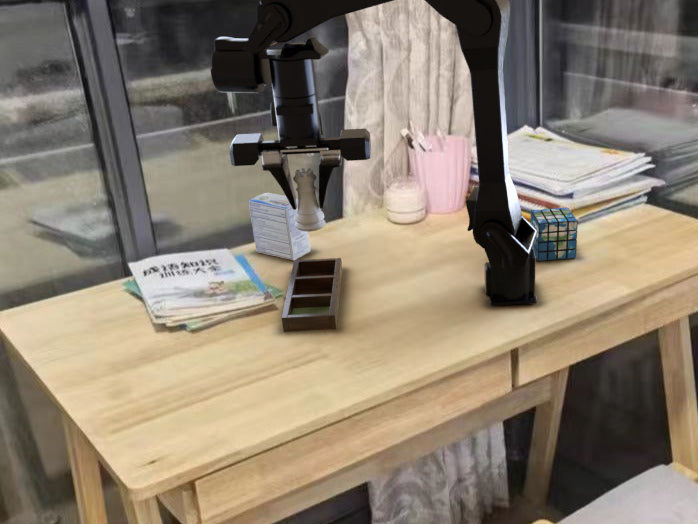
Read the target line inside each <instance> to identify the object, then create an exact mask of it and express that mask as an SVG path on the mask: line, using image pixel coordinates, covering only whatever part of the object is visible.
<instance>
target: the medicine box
mask: <svg viewBox="0 0 698 524" xmlns="http://www.w3.org/2000/svg"><path fill="white" fill-rule="evenodd" d="M296 205H297V208H296V210H297V209H298V197H296ZM248 208H249V214H250V220H251V227H252V233H253V240H254V245H255V250H256V253H259V254H264V255H268V256H274V257H278V258H281V259H286V260H290V261H294V260H299V259H300V258H301V257H304V256H305V255H307V254H309V253H310V252H311V251H312V249H311V242H310V234H309V232H306V231H300V230H298V229H297V228H296V227H295V223H296V221H295V219H294V216H295V214H296V213H297V211H296V210H293V208H292V206H291V205H290V203H289V201H288V199H287V197H286V195H283V194H278V193H273V192H272V193H271V192H264V193H262V194H259V195H257V196H255V197H253V198H251V199H250V200H248Z"/></svg>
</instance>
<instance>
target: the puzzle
mask: <svg viewBox="0 0 698 524" xmlns="http://www.w3.org/2000/svg"><path fill="white" fill-rule="evenodd" d="M529 223H530V224H531V225H532V226H533V227H534V228H535V229H536V230H537V234H536V237H535V240H534V242H533V245H532V248H531V249H533V251H534V254H535V257H536V260H537V262H544V261H554V260H555V261H556V260H565V259H576V258H577V247H578V246H577V245H578V227H579V220H578V219H577V218H576V216H575V215H574V213H573V212H572V211H571V209H570V208H569V207H555V208H543V209H531V210H530V222H529Z"/></svg>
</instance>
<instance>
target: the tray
mask: <svg viewBox="0 0 698 524" xmlns="http://www.w3.org/2000/svg"><path fill="white" fill-rule="evenodd" d="M343 271H344V270H343V261H342V257H331V258H330V257H329V258H310V259H296V260H293V263H292V267H291V273H290V277H289V282H288V287H287V291H286V296H285V300H284V306H283V309H282V314H281V325H282V332H283V333H291V332H311V331H331V330H337V327H338V326H337V325H338V317H339V307H340V298H341V289H342V288H341V287H342V278H343Z"/></svg>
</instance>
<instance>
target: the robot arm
mask: <svg viewBox="0 0 698 524" xmlns="http://www.w3.org/2000/svg"><path fill="white" fill-rule="evenodd" d="M394 1H395V0H259V3H258V6H257V9H256V10H257V11H256V19H257V22H256V24H255V25H254V27H253V29H252V31H251V33H250V35H249V36H248V38H243V37H242V38H240V37H239V38H238V37H237V38H235V37H232V36H219V37H217V38H215V39H213V45H214V51H213V53H212V57H211V68H210V75H211V76H210V77H211V81H212V84H213V86H214V87H215V89H216V91H217V92H219V93H228V94H229V93H230V94H231V93H235V94H262V93H264V91H265V89H266V87H267V86H269V85H270V84H271V87H272V88H271V89H272V97H273V102H270V121H271V127H273V128H277V134H278V139H275V140H273V139H272V140H264V136H263V134H262V133H259V132H258V133H240V134H239V133H238V134H236V135H235V137H234V138H233V139H232V141H231V144H230V146H229V158H230V163H231V166H233V167H245V166H246V167H247V166H255V165H256V164H257V162H258V161H260V159H261V160H262V165H261V170H262V171H264V172H270V173H269V174H271V176H272V177H273V178H274V180H275V181H276V182H277V184H278V185H279V187H280V188H281V190H282V192H283V194H284V196H286V197H287V199H288V201H289V203H290V205H291V206H292V208H293V210H296V208H297V205H296V198H297V197H296V192H295V188H294V184H293V178H292V175H291V171H290V167H289V165H290V164H289V159H288V155H304V154H306V155H307V154H319V157H320V158H319V162H318V203H319V204H318V206H319V207H320V209H321V210H322V209H324V205H325V204H324V203H325V199H326V195H327V189H328V184H329V181H330V179H331V176H332V173H333V171H334V169H335V168H340V167H341V166H342V163H343V158H344V160H345V161H347V162H351V161H353V162H354V161H367V160H370V159H371V155H372V140H371V132H370V131H369V130H367V128H347V129H340V135H339V136H338V137H323V136H324V124H323V115H322V113H321V112H322V111H321V109H320V107H319V99H318V98H319V97H318V90H317V81H316V80H317V79H316V72H315V62H314V61H315V60H317V61H318V60H319V61H320V60H321V59H322V58H324V57H325V56H328V54H329V53H330V52H329V51H330V50H329V49H328V47H326V46H325V45H324V44H322V43H321V42H320V41H319V40H318V38H317V37H316V36H315V35H313V36H311V37H309V38H307V39H306V42H290V41H292V40H293V39H295V38H298V37H300V36H302V35H304V34H305V33H308V32H309V31H311V30H312V29H315V28H317V27H318V26H320V25H322V24H324V23H327V21H329V20H331V19H334V18H337V17H341V16H345V15H348V14H352V13H355V12H358V11H362V10H366V9H369V8H372V7H376V6H380V5H384V4H386V3H390V2H394ZM424 1H425V2H426V3H427V4H428V6H430V7H431V8H432V9H433V10H435V11H436V12H437V14H439V15H440V17H442V18H444V19H446V20H447V21H449V22H450V23H452V24H453V25H454V26H455V27H454V28H455V30H456V34H457V39H458V42H459V46H460V51H461V54H462V55H463V58H464V60H465V62H466V65H467V68H468V70H469V74H470V87H471V99H472V112H473V123H474V125H473V126H474V137H475V150H476V162H477V176H478V186H473V188H472V190H471V192H470V193H469V194H468V197H467V199H466V200H465V206H466V211H467V215H468V227H467V228H466V229H467V232H471V231H472V236H473V241H474V242H475V244H477V245H479V247H481V248H482V249H483V250H484V252H485V255H486V257H487V260H488V261H485V262H484V264H483V265H484V266H483V267H484V273H483V274H484V275H483V276H484V277H483V278H484V293H485V296H486V297H488V300H489V304H490V305H491V306H511V305H512V306H513V305H530V304H531V305H532V304H537V303H538V298H537V295H536V266H537V265H536V263H537V262H536V260H537V258H536V256H535V254H534V251H533V249H531V248H532V245H533V242H534V240H535V237H536V234H537V230H536V229H535V228H534V227H533V226H532V225H531V224H530V222H529V221H528V220H527V219H526V218H525V217H524V216H523V214H522V208H521V205H520V204H521V203H520V200H519V196H518V191H517V188H516V187H515V184H514V182H513V179H512V177H511V174H510V162H509V161H510V160H509V143H508V142H509V141H508V130H507V129H508V128H507V112H506V96H505V95H506V94H505V93H506V92H505V80H504V79H505V78H504V59H505V54H506V47H507V41H508V36H509V27H510V18H511V17H510V16H511V4H510V0H424ZM277 43H279V44H281V43H284V44H283V45H282V47H281V49H269V48H270V47H272V46H273V45H275V44H277ZM260 157H261V158H260Z"/></svg>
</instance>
